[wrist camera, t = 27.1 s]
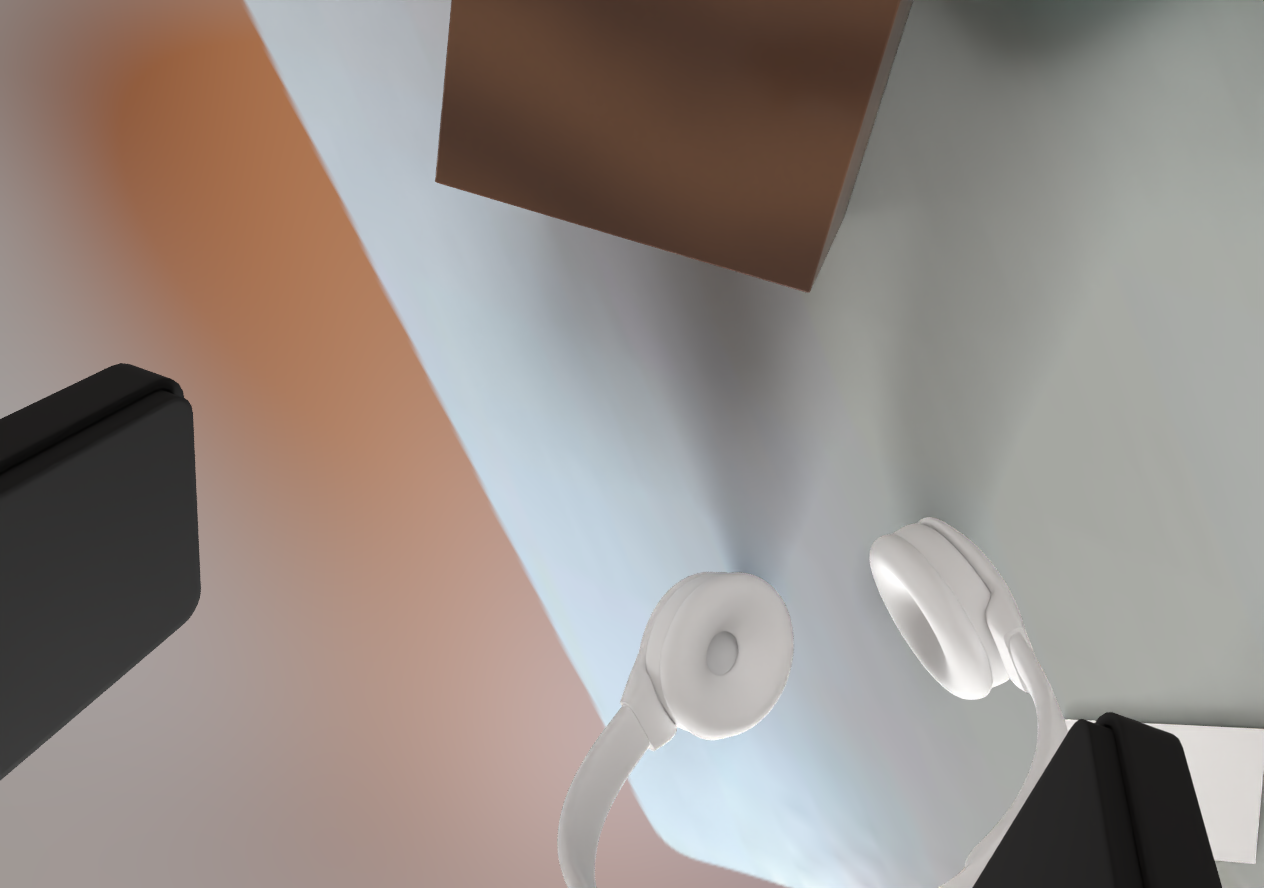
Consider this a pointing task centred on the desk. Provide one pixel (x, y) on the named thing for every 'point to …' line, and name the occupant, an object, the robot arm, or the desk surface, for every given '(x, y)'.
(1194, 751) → the coaster
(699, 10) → the cabinet
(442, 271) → the desk surface
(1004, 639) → the headphones
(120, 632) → the robot arm
